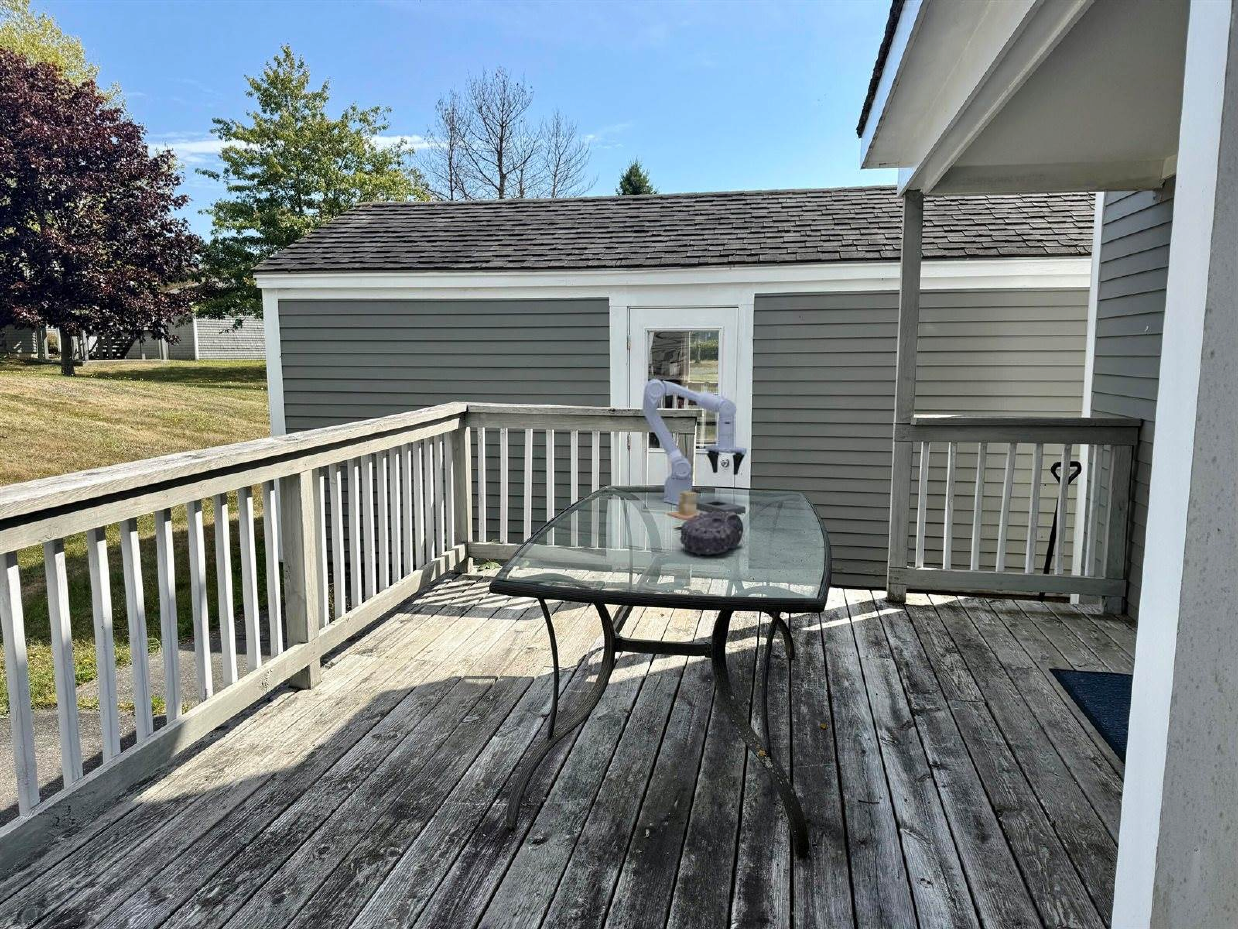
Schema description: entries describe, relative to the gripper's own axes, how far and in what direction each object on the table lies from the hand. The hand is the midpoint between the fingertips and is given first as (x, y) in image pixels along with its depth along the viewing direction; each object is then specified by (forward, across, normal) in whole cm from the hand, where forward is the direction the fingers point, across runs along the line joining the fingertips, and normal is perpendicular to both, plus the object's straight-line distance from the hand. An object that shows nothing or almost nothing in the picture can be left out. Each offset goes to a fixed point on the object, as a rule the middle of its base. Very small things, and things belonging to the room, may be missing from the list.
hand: (725, 473), depth 294 cm
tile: (+10, -2, -25) cm, 28 cm away
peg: (+10, -2, -25) cm, 27 cm away
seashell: (+11, +23, -60) cm, 65 cm away
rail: (+10, +2, -12) cm, 16 cm away
